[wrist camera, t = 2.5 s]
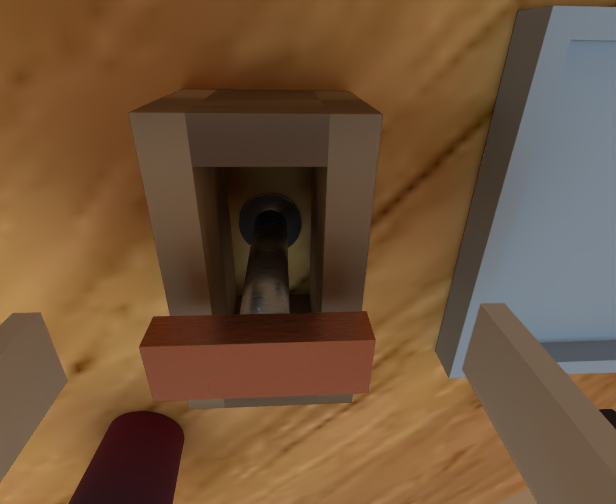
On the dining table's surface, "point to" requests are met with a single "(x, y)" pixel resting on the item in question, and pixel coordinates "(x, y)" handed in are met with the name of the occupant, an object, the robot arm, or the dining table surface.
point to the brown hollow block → (257, 153)
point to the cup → (134, 462)
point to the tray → (546, 195)
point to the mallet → (260, 331)
